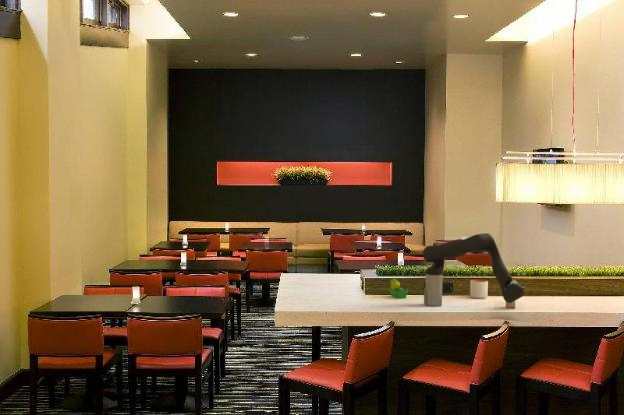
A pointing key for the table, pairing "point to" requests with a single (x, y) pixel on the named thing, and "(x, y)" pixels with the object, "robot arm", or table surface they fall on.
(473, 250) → the robot arm
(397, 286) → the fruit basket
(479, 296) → the cup
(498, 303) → the mat
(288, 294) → the table surface
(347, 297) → the table surface
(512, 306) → the block
